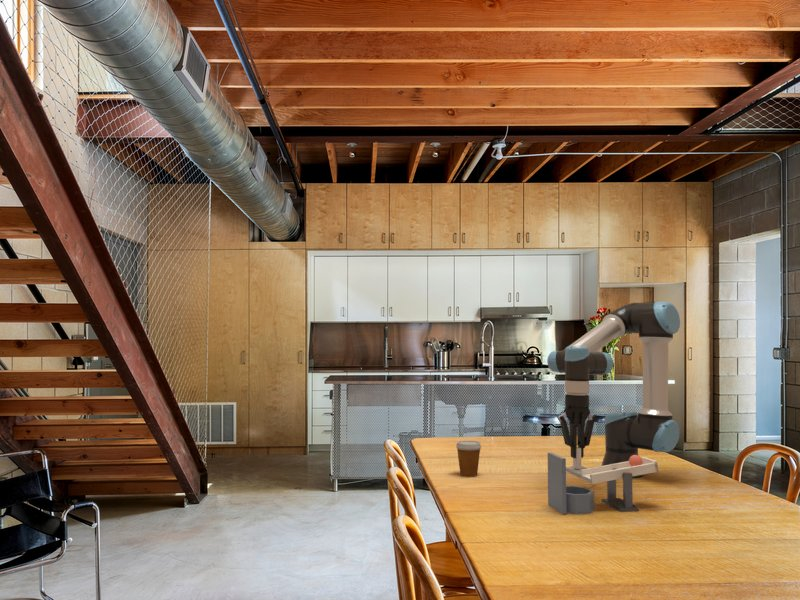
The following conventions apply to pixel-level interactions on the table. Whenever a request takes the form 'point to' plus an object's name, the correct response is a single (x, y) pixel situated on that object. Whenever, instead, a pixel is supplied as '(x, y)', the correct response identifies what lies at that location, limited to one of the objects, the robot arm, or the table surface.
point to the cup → (566, 490)
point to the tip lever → (613, 471)
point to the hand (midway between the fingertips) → (577, 468)
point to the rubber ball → (635, 460)
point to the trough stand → (627, 500)
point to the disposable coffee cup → (468, 457)
